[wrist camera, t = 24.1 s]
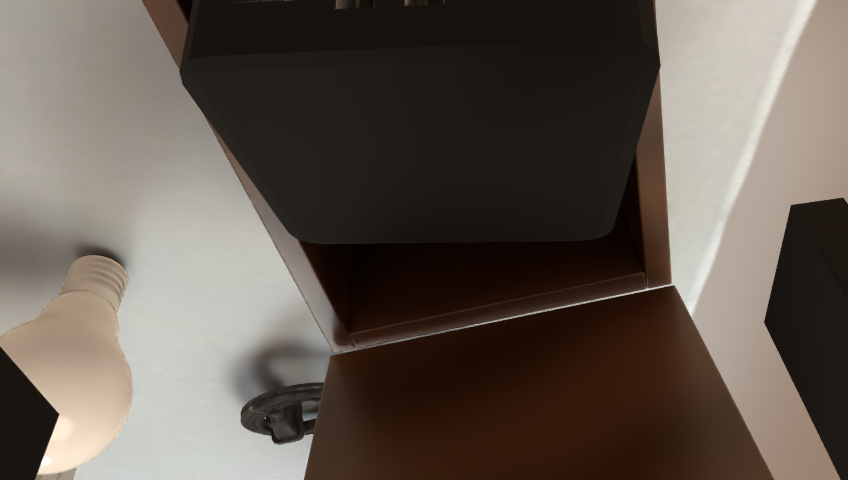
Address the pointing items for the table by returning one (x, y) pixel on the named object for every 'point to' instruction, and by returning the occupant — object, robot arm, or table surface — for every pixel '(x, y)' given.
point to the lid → (538, 402)
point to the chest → (463, 253)
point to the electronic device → (428, 112)
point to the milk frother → (282, 412)
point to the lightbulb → (78, 362)
